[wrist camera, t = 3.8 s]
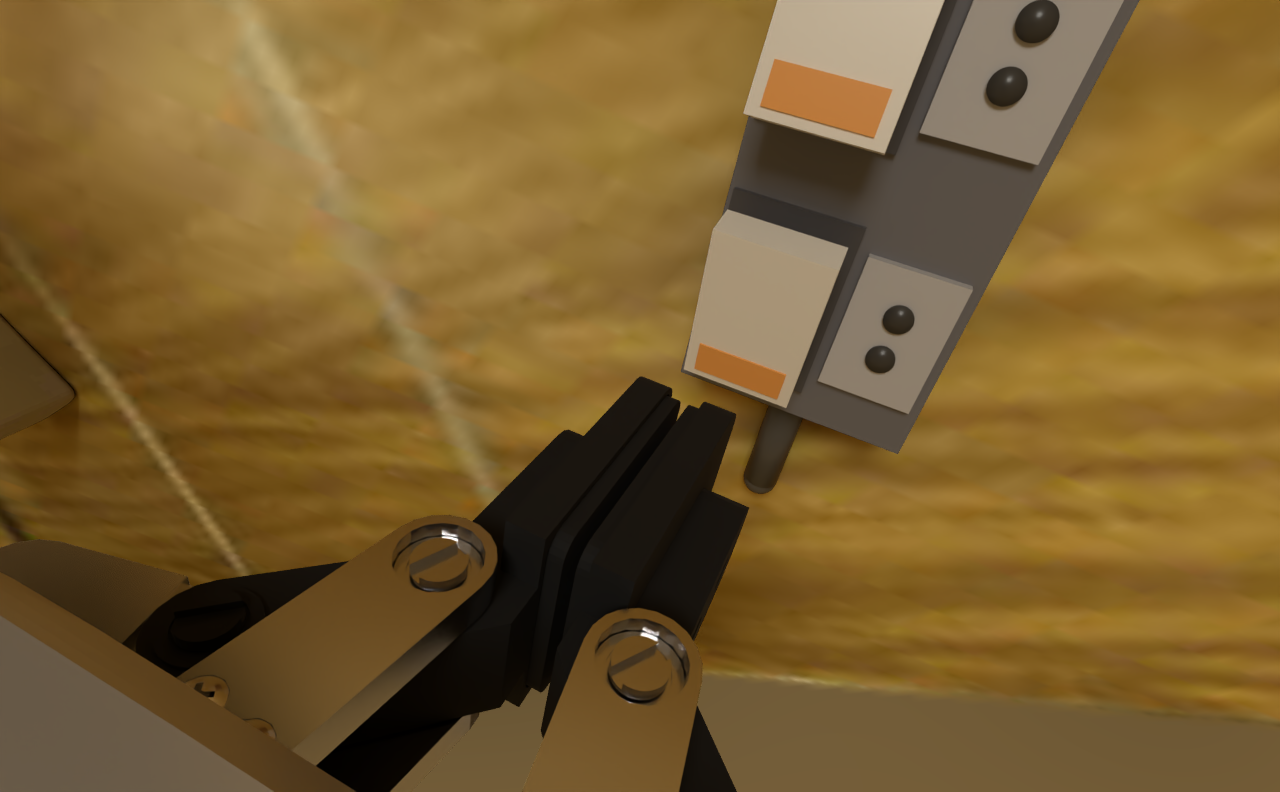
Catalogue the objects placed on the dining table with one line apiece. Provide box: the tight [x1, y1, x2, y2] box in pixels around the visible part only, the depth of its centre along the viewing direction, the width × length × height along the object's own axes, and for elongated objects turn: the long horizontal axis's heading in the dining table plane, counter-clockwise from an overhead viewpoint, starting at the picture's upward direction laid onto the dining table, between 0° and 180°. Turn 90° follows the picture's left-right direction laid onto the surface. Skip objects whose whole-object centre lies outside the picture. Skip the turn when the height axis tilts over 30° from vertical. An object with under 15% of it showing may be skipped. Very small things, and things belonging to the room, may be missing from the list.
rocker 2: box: [684, 209, 848, 408], centre depth 23 cm, size 6×4×2 cm, turn 169°
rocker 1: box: [743, 0, 945, 155], centre depth 18 cm, size 6×4×2 cm, turn 168°
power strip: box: [681, 0, 1139, 494], centre depth 25 cm, size 25×9×5 cm, turn 169°
